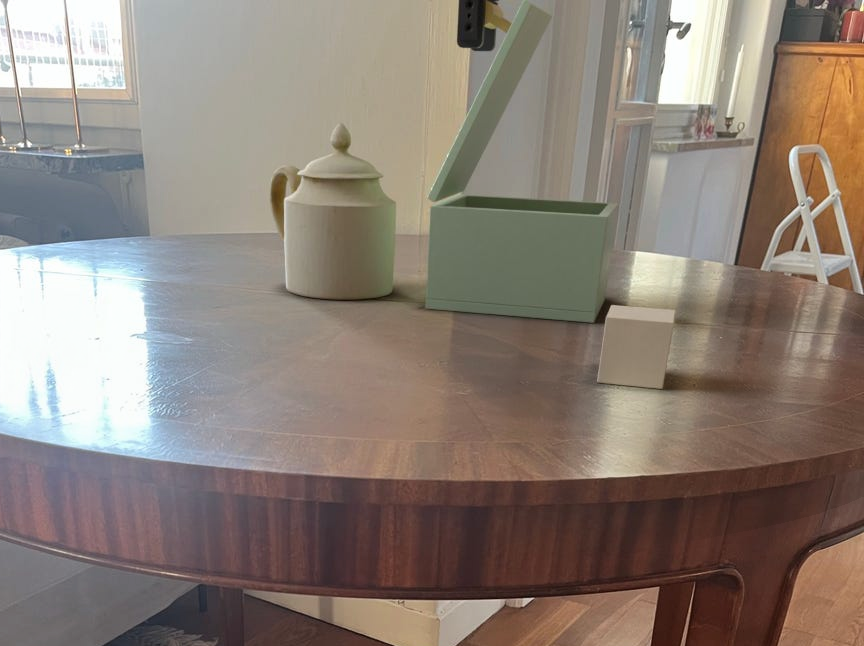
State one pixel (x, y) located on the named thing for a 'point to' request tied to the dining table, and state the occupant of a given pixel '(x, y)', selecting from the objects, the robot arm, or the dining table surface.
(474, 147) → the chest lid
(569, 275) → the chest
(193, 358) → the dining table surface
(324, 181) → the sugar bowl
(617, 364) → the block
